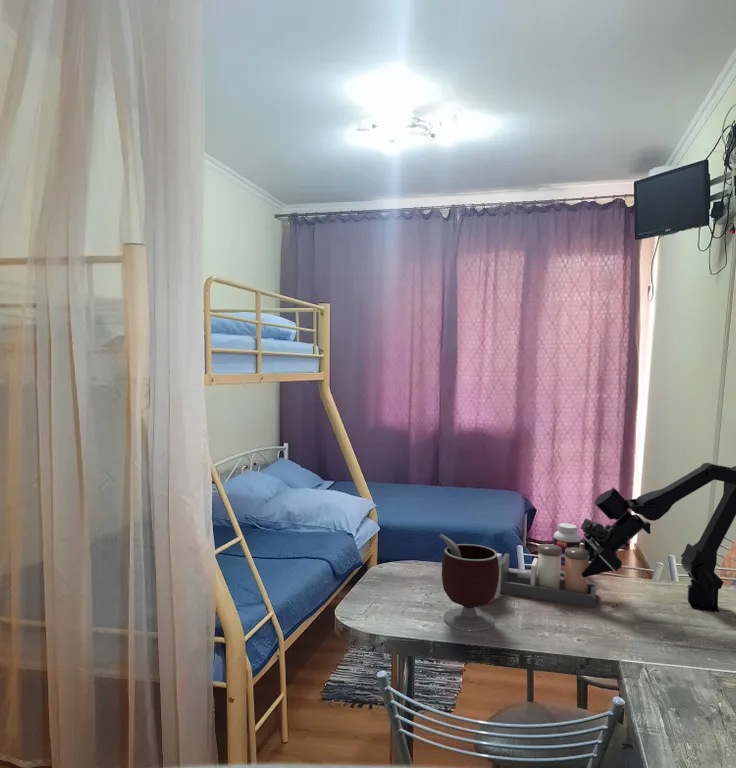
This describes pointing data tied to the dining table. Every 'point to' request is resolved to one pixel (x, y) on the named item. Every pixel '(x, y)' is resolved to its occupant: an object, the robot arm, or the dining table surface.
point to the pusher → (530, 573)
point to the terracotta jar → (576, 569)
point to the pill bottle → (566, 540)
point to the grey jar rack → (542, 588)
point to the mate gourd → (469, 583)
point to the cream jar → (549, 566)
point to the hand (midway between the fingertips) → (578, 570)
